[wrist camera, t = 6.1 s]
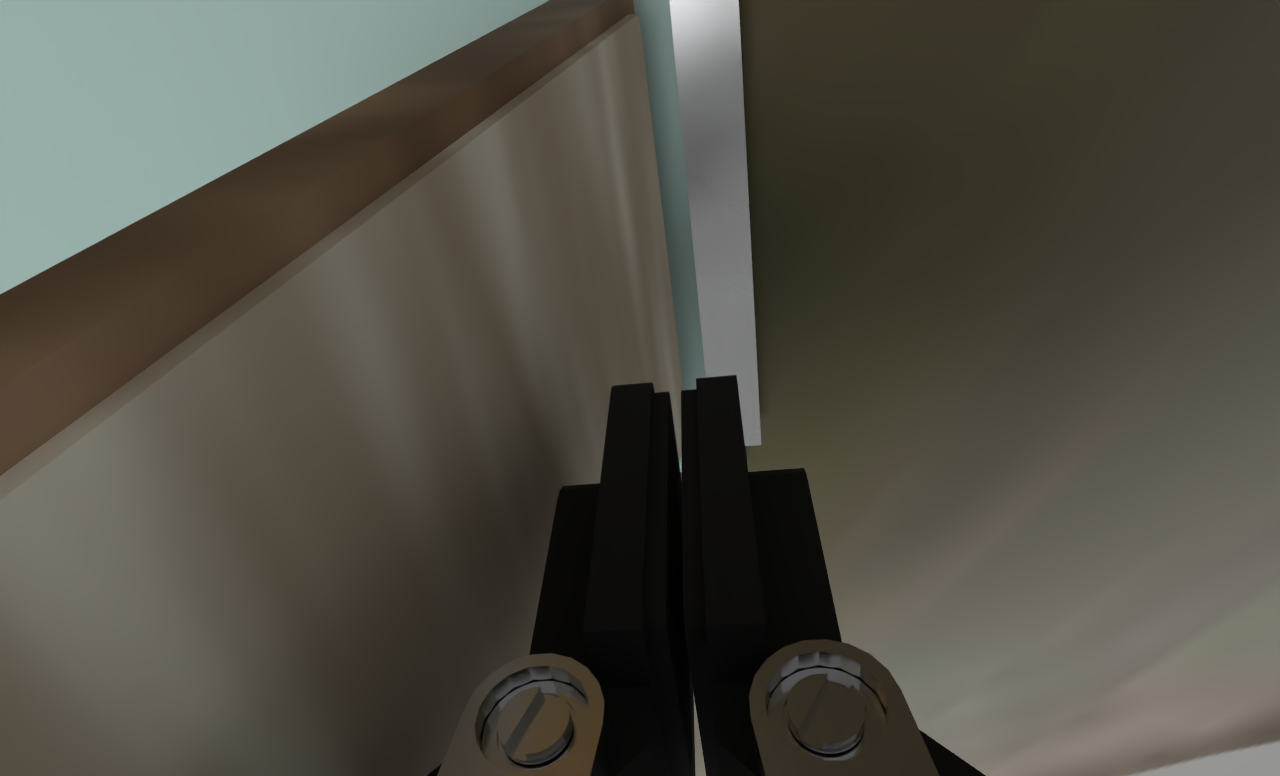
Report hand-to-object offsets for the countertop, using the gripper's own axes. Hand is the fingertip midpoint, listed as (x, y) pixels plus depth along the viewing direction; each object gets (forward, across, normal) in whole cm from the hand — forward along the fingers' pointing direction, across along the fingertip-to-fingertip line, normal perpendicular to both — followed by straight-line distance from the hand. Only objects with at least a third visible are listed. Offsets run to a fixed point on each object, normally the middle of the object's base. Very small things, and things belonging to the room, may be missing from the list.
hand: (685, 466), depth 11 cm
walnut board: (+7, +1, 0) cm, 7 cm away
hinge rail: (+8, -1, 0) cm, 8 cm away
